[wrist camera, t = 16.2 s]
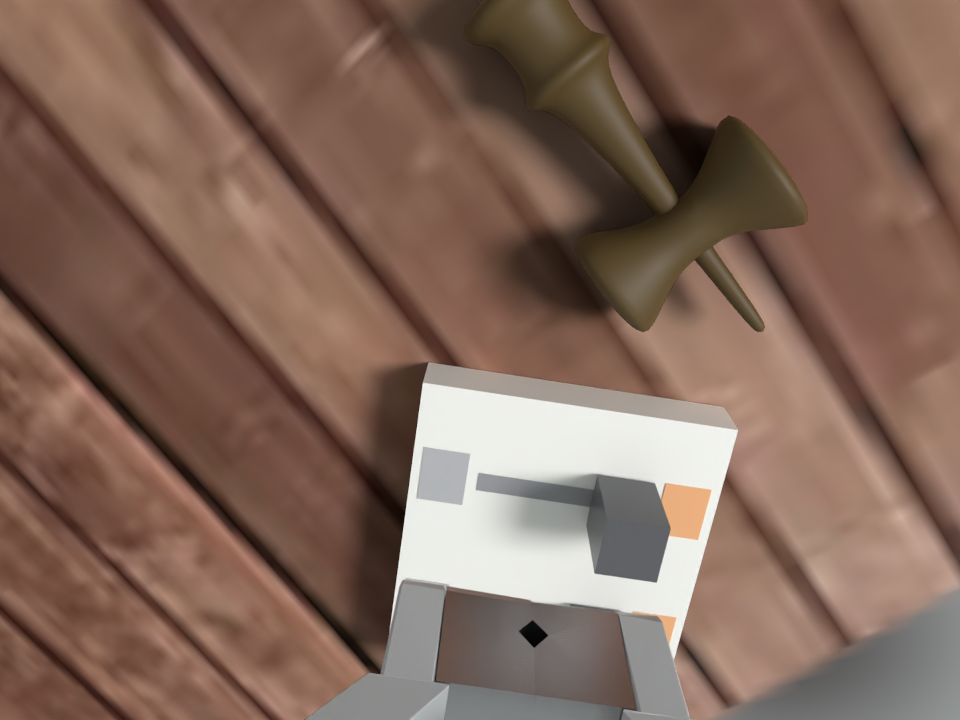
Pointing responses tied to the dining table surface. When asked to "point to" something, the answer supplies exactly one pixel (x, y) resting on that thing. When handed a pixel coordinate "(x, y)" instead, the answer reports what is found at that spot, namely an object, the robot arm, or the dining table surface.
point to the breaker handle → (627, 529)
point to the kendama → (640, 164)
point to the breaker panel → (555, 488)
